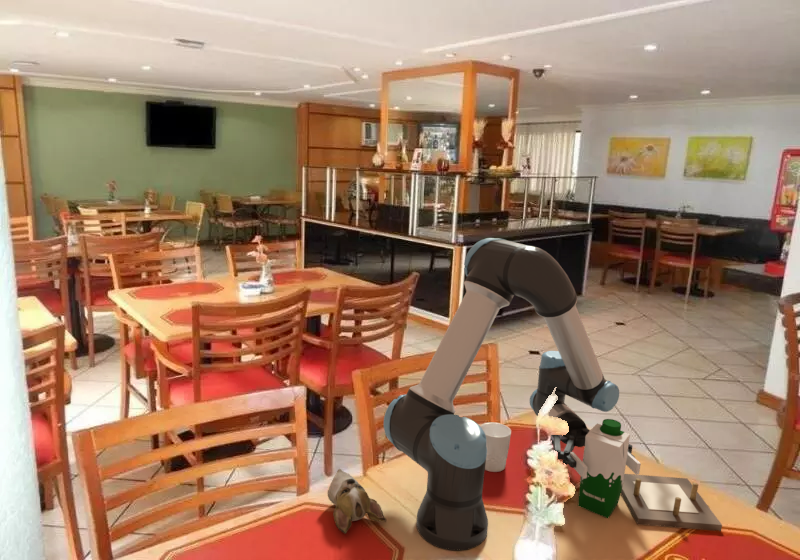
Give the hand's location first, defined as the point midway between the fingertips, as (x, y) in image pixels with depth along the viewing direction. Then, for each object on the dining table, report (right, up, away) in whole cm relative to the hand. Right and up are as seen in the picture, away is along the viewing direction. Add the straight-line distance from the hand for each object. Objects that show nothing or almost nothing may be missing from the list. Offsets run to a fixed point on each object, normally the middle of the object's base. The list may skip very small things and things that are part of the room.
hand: (612, 471), depth 127 cm
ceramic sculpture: (-58, -9, -2) cm, 58 cm away
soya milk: (-1, -10, +6) cm, 12 cm away
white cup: (-23, -5, +21) cm, 32 cm away
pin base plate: (+15, -10, +8) cm, 20 cm away
